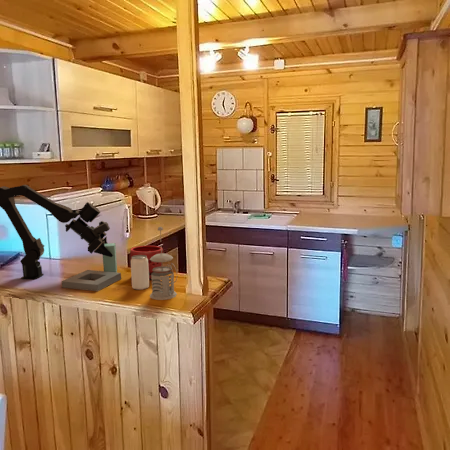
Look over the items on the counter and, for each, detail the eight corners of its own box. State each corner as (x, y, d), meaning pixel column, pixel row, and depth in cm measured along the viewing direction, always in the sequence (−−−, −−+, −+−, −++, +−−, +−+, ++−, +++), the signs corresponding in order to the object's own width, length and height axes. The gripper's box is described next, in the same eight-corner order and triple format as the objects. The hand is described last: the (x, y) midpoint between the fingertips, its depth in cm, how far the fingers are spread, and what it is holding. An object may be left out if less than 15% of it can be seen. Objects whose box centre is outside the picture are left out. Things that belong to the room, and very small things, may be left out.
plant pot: (160, 281, 175) (159, 251, 173) (127, 281, 176) (126, 251, 174) (166, 271, 188) (165, 244, 186) (136, 271, 189) (134, 244, 187)
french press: (164, 288, 166) (161, 223, 161) (186, 295, 158) (183, 226, 154) (143, 296, 158) (140, 227, 154) (166, 303, 151) (163, 231, 146)
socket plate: (62, 287, 169) (61, 281, 169) (87, 275, 184) (87, 269, 184) (97, 291, 164) (97, 284, 164) (121, 278, 179) (120, 272, 179)
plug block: (103, 274, 186) (102, 246, 184) (105, 270, 191) (103, 243, 189) (116, 273, 187) (114, 245, 184) (117, 270, 191) (115, 243, 189)
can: (147, 289, 165) (146, 258, 163) (130, 290, 165) (128, 259, 163) (150, 284, 171) (149, 254, 169) (133, 284, 171) (132, 254, 169)
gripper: (94, 220, 175) (124, 245, 178) (99, 212, 193) (127, 236, 196) (74, 240, 175) (105, 265, 178) (82, 231, 193) (110, 254, 197)
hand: (112, 254), depth 187 cm, fingers closed on plug block, 5 cm apart
